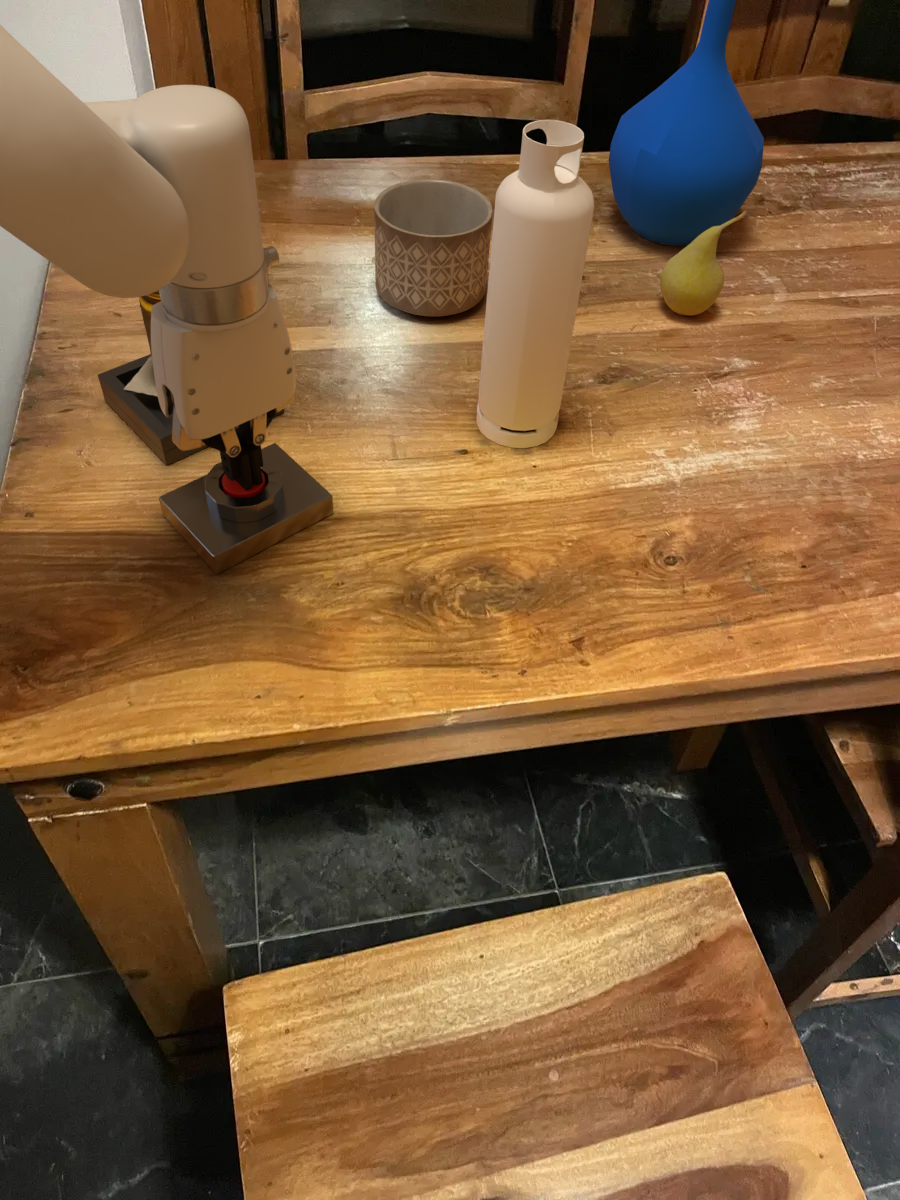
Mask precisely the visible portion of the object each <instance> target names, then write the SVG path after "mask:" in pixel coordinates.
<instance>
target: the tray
mask: <svg viewBox="0 0 900 1200" xmlns="http://www.w3.org/2000/svg"><path fill="white" fill-rule="evenodd" d="M150 356H151V353H150V354H147V355H145V356H142V357H139V358H137V359H134V360H131V361H129V362H127V363H123V364H121V365H118V366H115V367H113V368H111V369H108V370H106V371H103V372H101V373H98V374H97V379H98V382H99V384H100V385H99V386H100V388H101V391H102V395H103V398H104V402H105V403H106V404H107V405H108V406H109V407H110V408H111V410H112V411H114V413H116V414H117V415H118V416H119V417H120V418H121V419H122V421H123V422H124V423H125V424H126V425H127V426H128V427H129V428H130V429H131V430H132V431H133V432H134V433H135V434H136V435H137V436H138V437H139V438H140V439H141V441H143V443H144V444H145V445H146V446H147V447H148V448H149V449H150V450H151V451H152V452H153V453H154V454H155V455H156V456H157V457H158V458H159V459H160V460H161V461H162V462H163V464H164V465H165V466H170V465H171V464H173V463H175V462H178V461H180V460H182V459H184V458H187V457H189V456H191V455H193V454H196V453H198V452H200V451H203V450H204V449H206V448H209V447H208V446H207V445H204V446H202V447H201V448H196V449H192V450H187V451H181V450H180V449H179V448H178V447H177V446H176V445H175V444H174V443H173V441H172V424H173V416H171V417H169V418H167V417H166V416H165V414H164V413H163V412H162V410H161V407H160V404H159V400H158V397H157V396H154V395H148V394H145V393H138V392H135V391H131V390H124V388H125V387H126V386H127V384H128V383H129V382H130V381H131V380H132V379H133V377H134V376H135V375H136V374H137V373H138V372H139V370H140V369H141V368H142V367H143V365H144V364H145V363H146V361H147V360H148V359H149V358H150ZM284 409H285V408H284ZM284 409H282V410H281V411H279V412H278V413H277V412H276V414H275V416H274V418H275V417H278V416H280V415H282V414H284V413H285V410H284ZM234 429H237V427H236V426H235V427H234Z"/></svg>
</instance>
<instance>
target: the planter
mask: <svg viewBox="0 0 900 1200" xmlns="http://www.w3.org/2000/svg"><path fill="white" fill-rule="evenodd" d="M373 210H374V214H373V215H374V274H375V275H374V281H375V288H376V291H377V293H378V295H379V296H380V297H381V299H382V300H383V301H384V302H386V303H387V304H388V305H390V306H391V307H393V308H395V309H397V310H399V311H402V312H404V313H408V314H411V315H415V316H424V317H445V316H452V315H457V314H460V313H463V312H466V311H468V310H470V309H472V308H474V307H475V306H476V305H477V304H479V303H480V302H481V300H482V299H483V298H484V296H485V294H486V292H487V285H488V273H489V262H490V250H491V238H492V235H491V234H492V227H493V215H494V209H493V205H492V203H491V201H490V200H489V199H488V197H487V196H486V195H484V194H483V193H482V192H481V191H479V190H477V189H476V188H473V187H471V186H470V185H466V184H463V183H461V182H456V181H453V180H447V179H439V178H421V179H419V178H418V179H410V180H405V181H402V182H399V183H395V184H393V185H390V186H389V187H387V188H385V189H384V190H382V191H381V192H380V193H379V194H378V195H377V197H376V198H375V200H374V205H373Z"/></svg>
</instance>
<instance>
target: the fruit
mask: <svg viewBox="0 0 900 1200" xmlns="http://www.w3.org/2000/svg"><path fill="white" fill-rule="evenodd" d="M748 213H749V212H748V210H747V209H744V210H743V211H742V212H741V214H739V215H737V216H736V217H733V218H732V219H731V220H730V221H728V222H726V223H724V224H722V225H720V226H714V227H711V228H709V229H708V230H706V231H704V232H703V233H701V234H700V235H699V236H698V237H697V238H696V239H695V240H693V241H692V242H691V243H690V244H689V245H686V246H685V247H683V248H682V249H681V250H680V251H679V252H678V253H676V254H675V255H674V256H672V257H671V258H670V259H668V260H667V262H666V263H665V265H664V266H663V268H662V270H661V274H660V279H659V286H660V292H661V296H662V298H663V300H664V303H665V304H666V306H667V307H668V308H669V309H670V310H671V311H672V312H674V313H676V314H678V315H681V316H697V315H700V314H702V313H704V312H705V311H707V310H708V309H709V308H710V307H711V306H712V305H713V304H715V302H716V301H717V299H718V298H719V296H720V294H721V293H722V289H723V288H724V284H725V272H724V269H723V267H722V266H721V264H720V263H719V261H718V260H717V249H718V248H717V247H718V241H719V238H720V235H721V233H722V231H723V230H724V229H725V228H726V227H728V226H729V225H731V224H733V223H735V222H738V221H740V220H742V219H743V218H744V217H746V216H747V214H748Z"/></svg>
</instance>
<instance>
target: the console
mask: <svg viewBox="0 0 900 1200" xmlns="http://www.w3.org/2000/svg"><path fill="white" fill-rule="evenodd" d="M261 451H262V458H263V467H261V471H262V472H263V474H264V477H265V483H266V487H265V488H264V490H263V491H262V492H260V493H258V494H256V495H254V496H252V497H243V498H236V497H232V496H229V495H226V494H225V493H224V491H223V485H222V478H223V476H224V474H225V473H224V471H223V467H222V461H220V462H218V463H215V464H214V465H213V466H212V467H211V469H210V470H209V471H208V473H207V474H204V475H203V476H200V477H199V478H196V479H194V480H192V481H189V482H188V483H185V484H184V485H182V486H179V487H177V488H175V489H173V490H171V491H169V492H167V493H164V494H162V495H160V496H158V501H159V504H160V509H161V513H162V516H163V517H164V518H165V520H167V521H168V522H169V524H171V526H172V527H173V528H174V529H175V530H176V531H177V532H178V533H179V534H180V536H182V538H183V539H184V540H185V541H186V542H187V543H188V544H189V545H190V547H191V548H193V550H194V551H195V552H196V553H197V554H198V555H199V557H200V558H201V559H202V560H203V561H204V562H205V563H206V564H207V565H208V566H209V567H210V568H211V570H212V571H213V572H214V573H215V574H216V575H219V574H221V573H222V572H224V571H226V570H229V569H230V568H232V567H234V566H236V565H238V564H239V563H242V562H243V561H245V560H248V559H249V558H251V557H253V556H255V555H257V554H259V553H260V552H263V551H265V550H266V549H268V548H270V547H272V546H274V545H276V544H278V543H280V542H281V541H284V540H285V539H287V538H289V537H291V536H293V535H295V534H297V533H298V532H300V531H303V530H304V529H306V528H308V527H310V526H312V525H314V524H316V523H317V522H321V521H322V520H324V519H325V518H328V517H329V516H331V515H333V514H334V500H333V499H334V498H333V495H332V494H331V492H329V491H328V489H326V488H325V487H324V486H323V485H322V484H321V483H319V482H318V481H317V480H316V479H315V478H314V477H313V476H312V475H311V474H310V473H308V471H307V470H306V469H304V468H303V467H302V466H301V465H300V464H299V463H298V462H297V461H295V460H294V458H292V457H291V456H290V455H289V454H288V453H287V452H286V451H284V449H283V448H282V447H281V446H280V445H278V444H277V443H276V442H274V443H271V444H268V445H267V446H264V447H263V448H261Z"/></svg>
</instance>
